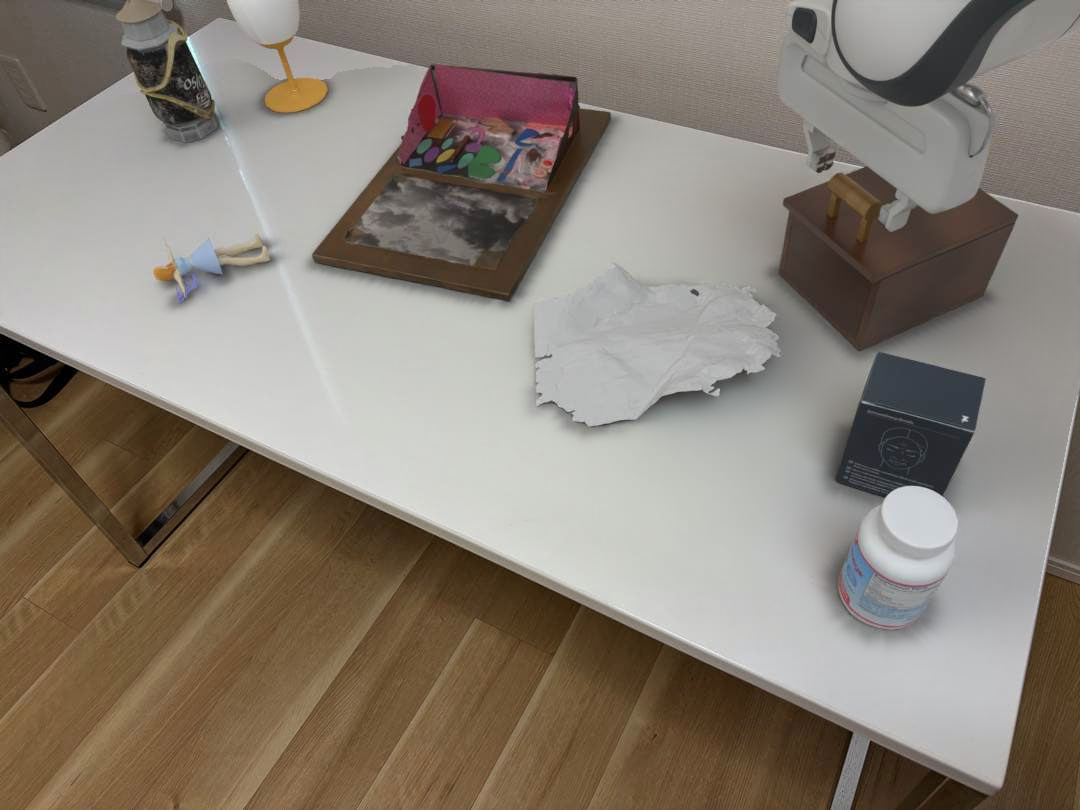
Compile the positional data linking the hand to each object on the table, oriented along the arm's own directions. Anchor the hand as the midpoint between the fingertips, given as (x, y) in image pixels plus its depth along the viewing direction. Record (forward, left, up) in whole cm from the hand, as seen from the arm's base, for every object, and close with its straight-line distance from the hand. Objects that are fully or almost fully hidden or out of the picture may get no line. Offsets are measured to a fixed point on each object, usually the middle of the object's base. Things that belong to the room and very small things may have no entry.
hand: (853, 195), depth 70 cm
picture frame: (+33, -28, -13) cm, 46 cm away
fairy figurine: (+63, -19, -13) cm, 67 cm away
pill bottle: (+6, +30, -13) cm, 34 cm away
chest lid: (-5, -2, -4) cm, 7 cm away
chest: (-6, -2, -13) cm, 14 cm away
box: (+1, +20, -13) cm, 24 cm away
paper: (+18, +2, -13) cm, 23 cm away
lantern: (+71, -51, -13) cm, 89 cm away
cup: (+57, -56, -13) cm, 81 cm away
